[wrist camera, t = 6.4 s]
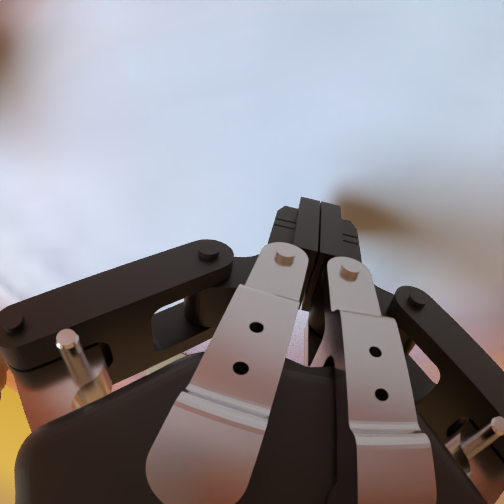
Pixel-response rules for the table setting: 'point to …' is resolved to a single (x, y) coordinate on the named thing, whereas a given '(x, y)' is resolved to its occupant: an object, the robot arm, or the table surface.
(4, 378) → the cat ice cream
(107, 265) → the table surface
